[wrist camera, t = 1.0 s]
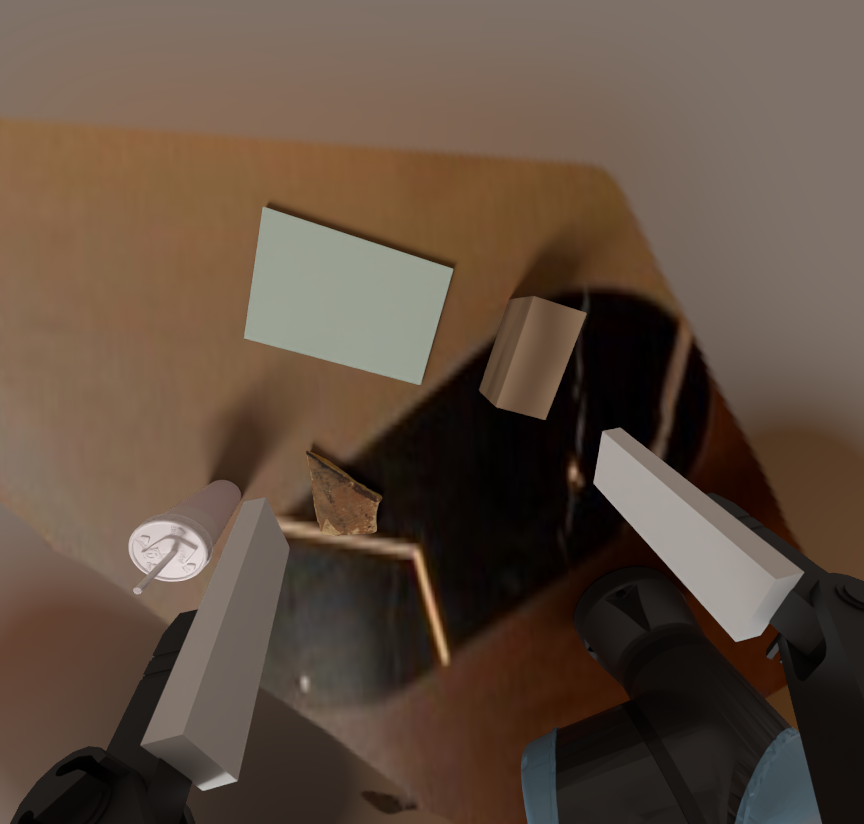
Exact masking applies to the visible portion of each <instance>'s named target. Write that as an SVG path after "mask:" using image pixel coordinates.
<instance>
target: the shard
mask: <svg viewBox="0 0 864 824" xmlns="http://www.w3.org/2000/svg"><path fill="white" fill-rule="evenodd" d="M306 453H307V458H308V465H309V469H310V472H311V479H312V492H313V497H314V506H315V509H316V515H317V520H318V522H319V524H320V531H321V533H322V534H325V535H335V536H339V535H348V534H360V533H374V532H375V531H377V525H376V512H377V508H378V504H379V502H380V501H381V500H382V496H381V495H380V494H378V493H376V492H373V491H372V490H370V489H368V488H366V486H365V485H363V484H360V483H358V482H357V481H355V480H354V479H353V478H352V477H350V476H349V475H348V474H347V473H345V472H344V471H343V470H341V469H340V468H338V467H337V466H335V465H334V464H333V463H331V462H330V461H328V460H327V459H325V458H323V457H320V456H319V455H318V454H315V453H312V452H309V451H306Z"/></svg>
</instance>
